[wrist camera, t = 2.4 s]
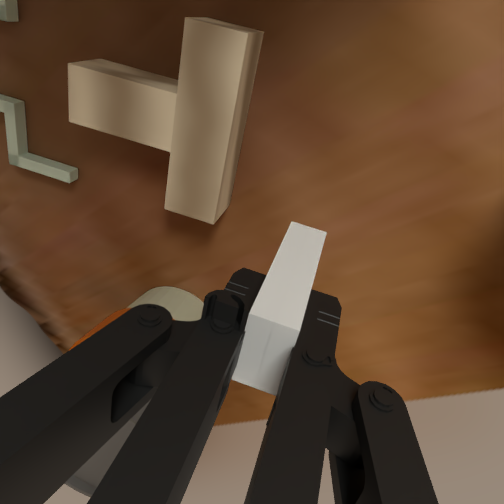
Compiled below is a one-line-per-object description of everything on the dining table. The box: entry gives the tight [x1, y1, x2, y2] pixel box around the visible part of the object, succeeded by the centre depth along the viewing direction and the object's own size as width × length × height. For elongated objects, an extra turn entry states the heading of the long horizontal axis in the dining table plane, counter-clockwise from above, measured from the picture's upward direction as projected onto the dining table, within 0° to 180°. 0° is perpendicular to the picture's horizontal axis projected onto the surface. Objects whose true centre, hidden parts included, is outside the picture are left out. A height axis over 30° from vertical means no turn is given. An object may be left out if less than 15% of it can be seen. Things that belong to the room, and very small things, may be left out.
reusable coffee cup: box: [64, 286, 204, 497], centre depth 37 cm, size 13×13×15 cm
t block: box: [68, 17, 264, 225], centre depth 31 cm, size 12×13×4 cm
